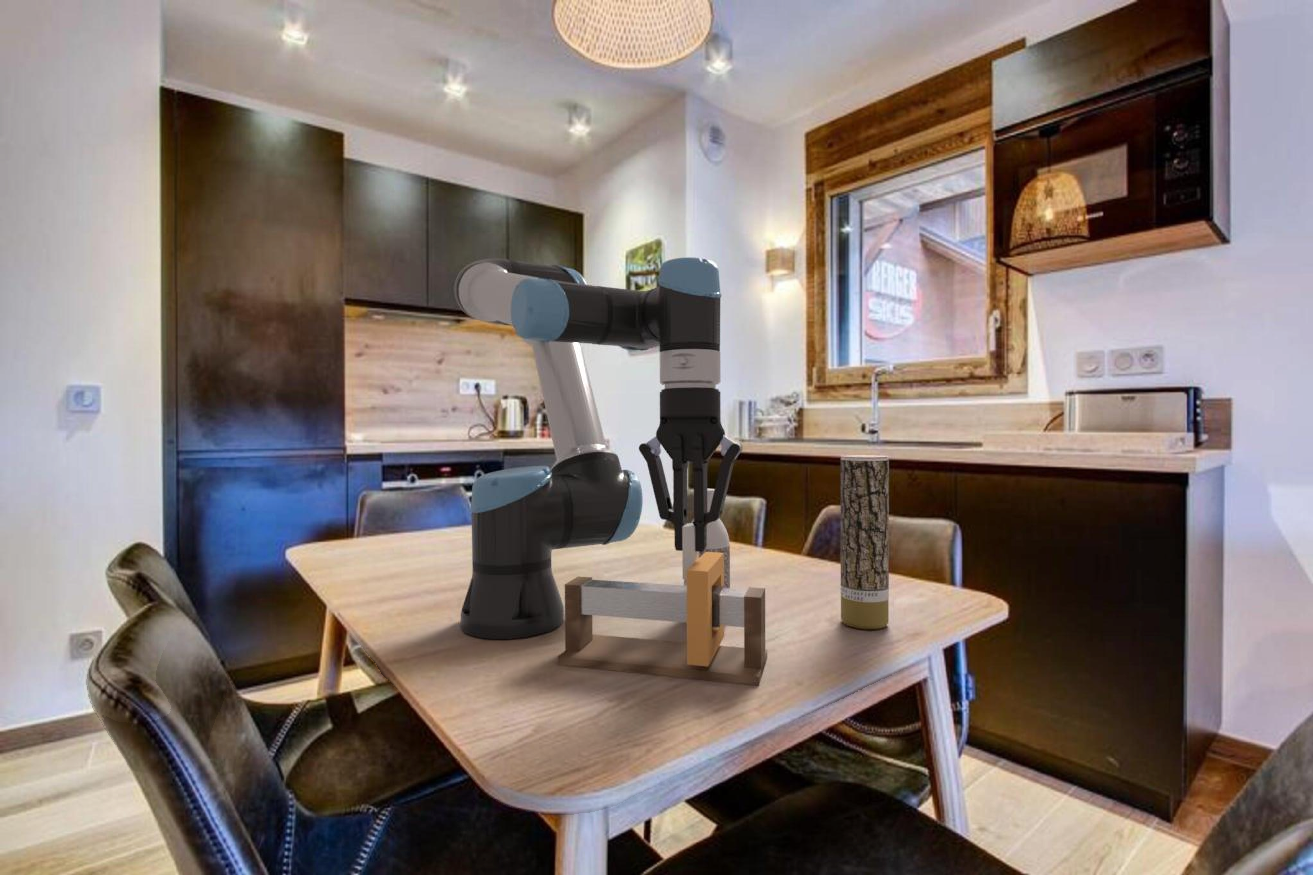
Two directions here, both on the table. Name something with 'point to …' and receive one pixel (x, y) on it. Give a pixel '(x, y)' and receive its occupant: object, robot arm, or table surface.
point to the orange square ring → (703, 608)
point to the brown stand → (664, 646)
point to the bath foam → (717, 541)
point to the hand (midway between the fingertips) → (690, 576)
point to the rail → (658, 602)
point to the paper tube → (865, 541)
